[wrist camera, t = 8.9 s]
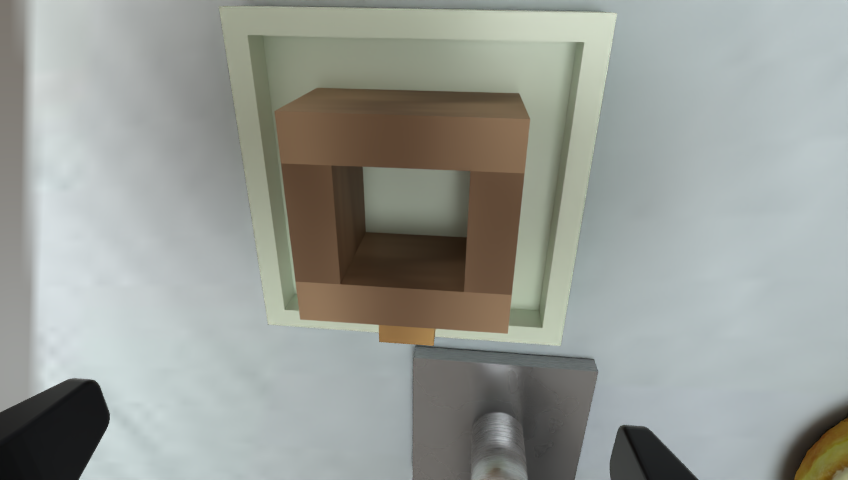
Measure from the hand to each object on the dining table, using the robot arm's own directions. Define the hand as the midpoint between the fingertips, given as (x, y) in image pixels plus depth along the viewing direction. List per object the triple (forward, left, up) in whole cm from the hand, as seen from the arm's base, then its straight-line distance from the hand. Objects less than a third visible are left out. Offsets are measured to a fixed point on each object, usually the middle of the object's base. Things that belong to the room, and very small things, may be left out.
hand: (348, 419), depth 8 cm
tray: (0, 0, -12) cm, 12 cm away
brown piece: (0, 0, -11) cm, 11 cm away
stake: (-12, -4, -12) cm, 17 cm away
